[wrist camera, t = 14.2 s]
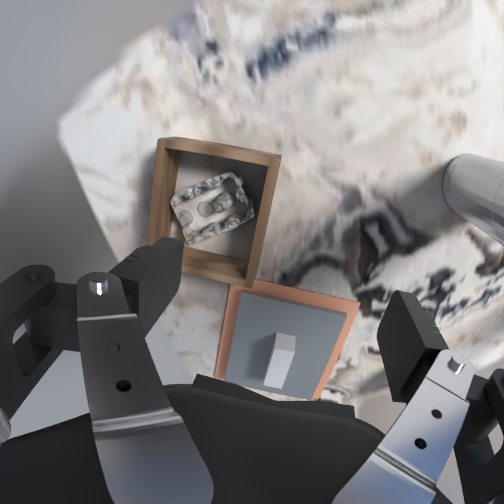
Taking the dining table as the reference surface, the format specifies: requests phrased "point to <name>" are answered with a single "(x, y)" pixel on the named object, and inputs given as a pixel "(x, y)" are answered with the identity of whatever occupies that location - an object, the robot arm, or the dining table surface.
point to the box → (162, 209)
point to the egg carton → (211, 208)
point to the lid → (281, 344)
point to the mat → (292, 295)
